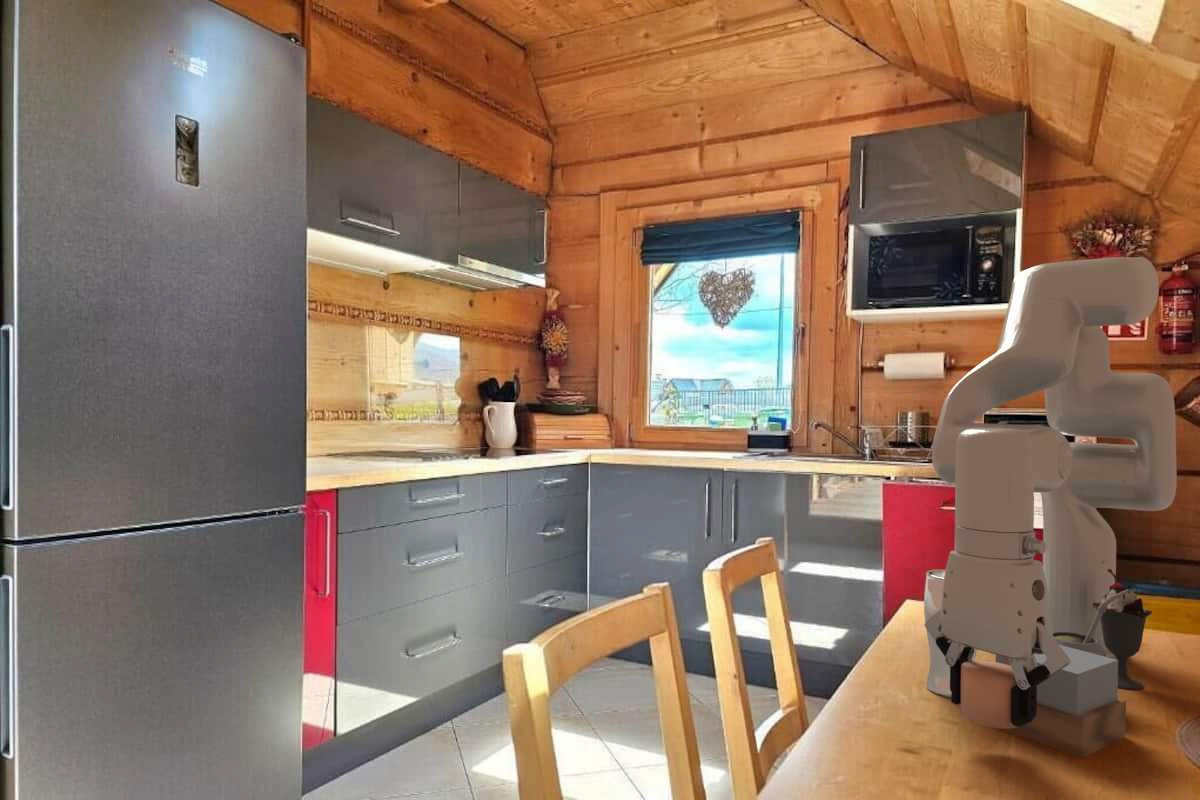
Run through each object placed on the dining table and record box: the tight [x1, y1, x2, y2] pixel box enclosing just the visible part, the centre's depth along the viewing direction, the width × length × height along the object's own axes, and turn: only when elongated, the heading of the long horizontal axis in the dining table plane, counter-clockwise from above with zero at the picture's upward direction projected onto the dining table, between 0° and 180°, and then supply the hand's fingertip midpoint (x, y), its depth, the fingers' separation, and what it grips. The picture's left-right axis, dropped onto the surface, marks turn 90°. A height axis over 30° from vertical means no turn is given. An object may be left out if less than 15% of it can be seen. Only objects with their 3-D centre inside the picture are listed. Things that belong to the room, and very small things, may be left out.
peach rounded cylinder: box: [960, 660, 1017, 730], centre depth 84 cm, size 6×6×5 cm
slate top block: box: [995, 645, 1119, 716], centre depth 90 cm, size 9×9×4 cm
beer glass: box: [923, 569, 978, 698], centre depth 102 cm, size 7×7×15 cm
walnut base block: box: [998, 697, 1127, 759], centre depth 90 cm, size 10×10×4 cm
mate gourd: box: [1051, 590, 1128, 656], centre depth 99 cm, size 8×8×15 cm
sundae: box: [1093, 569, 1153, 691], centre depth 106 cm, size 7×7×15 cm
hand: (991, 710), depth 84 cm, fingers closed on peach rounded cylinder, 6 cm apart
